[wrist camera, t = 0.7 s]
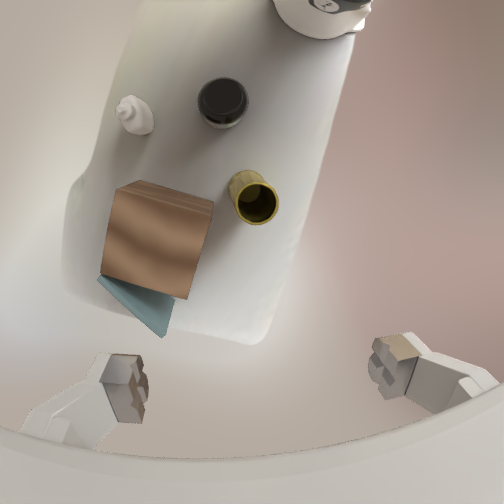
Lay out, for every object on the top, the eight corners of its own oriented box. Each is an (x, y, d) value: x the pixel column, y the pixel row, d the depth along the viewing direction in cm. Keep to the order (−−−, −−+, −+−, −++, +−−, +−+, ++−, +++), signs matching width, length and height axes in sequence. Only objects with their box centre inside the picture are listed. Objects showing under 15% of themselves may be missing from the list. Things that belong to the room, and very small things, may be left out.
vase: (236, 212, 50) (242, 236, 37) (222, 178, 48) (223, 189, 35) (271, 199, 50) (289, 217, 37) (258, 164, 48) (272, 170, 35)
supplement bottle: (242, 130, 46) (249, 124, 35) (199, 128, 45) (192, 121, 34) (245, 90, 44) (253, 72, 32) (203, 88, 43) (197, 69, 32)
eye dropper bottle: (127, 133, 44) (100, 129, 33) (134, 100, 42) (110, 87, 31) (152, 136, 45) (131, 133, 33) (159, 103, 43) (141, 90, 32)
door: (122, 250, 50) (100, 275, 39) (174, 300, 54) (165, 334, 43) (115, 257, 50) (92, 284, 39) (167, 307, 54) (156, 342, 43)
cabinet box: (139, 180, 47) (115, 189, 35) (213, 202, 49) (211, 217, 38) (123, 246, 50) (100, 273, 39) (193, 267, 53) (187, 299, 41)
